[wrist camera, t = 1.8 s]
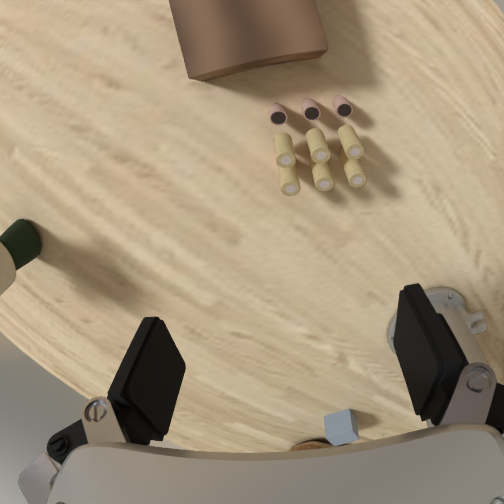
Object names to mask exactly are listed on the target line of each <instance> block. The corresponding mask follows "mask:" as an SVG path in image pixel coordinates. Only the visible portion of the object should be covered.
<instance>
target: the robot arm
mask: <svg viewBox="0 0 504 504" xmlns="http://www.w3.org/2000/svg"><path fill="white" fill-rule="evenodd" d="M483 318H484V314H483V311H482V310H479V311H476V312H474V313H472V314H469V313H467V312H466V305H465V302H464V300H463V298H462V297H461V295H460V294H459V293H458V292H457V291H456V290H454V289H451V288H447V287H438V288H433V289H429V290H426V291H424V290H423V289H422V287H421V286H420V284H418V283H417V284H411V285H406V286H404V289H403V290H401V291H400V293H399V302H398V310H397V313H396V314H395V315H394V317H393V318H392V320H391V322H390V324H389V327H388V330H387V340H388V344H389V346H390V349H391V350H392V351H393V352H394V353H395V354H396V355H397V357H398V360H399V363H400V366H401V369H402V372H403V375H404V378H405V381H406V384H407V388H408V391H409V394H410V397H411V401H412V404H413V407H414V411H415V414H416V415H420V417H421V420H422V421H425V420H426V422H427V426H428V428H426V429H422V430H417V431H413V432H409V433H405V434H401V435H396V436H392V437H387V438H382V439H377V440H372V441H367V442H362V443H356V444H350V445H344V446H337V447H329V448H321V449H311V450H300V451H287V452H265V453H228V452H205V451H191V450H179V449H170V448H162V447H153V446H150V445H149V444H150V440H155V441H163V437H164V435H167V433H168V430H169V426H170V423H171V419H172V415H173V412H174V408H175V405H176V401H177V397H178V394H179V390H180V387H181V383H182V380H183V376H184V373H185V369H186V366H185V362H184V360H183V358H182V356H181V354H180V352H179V350H178V349H177V347H176V345H175V343H174V341H173V339H172V337H171V335H170V333H169V331H168V329H167V327H166V325H165V323H164V321H163V320H160V318H159V317H145V318H144V319H143V320H142V322H141V324H140V326H139V328H138V330H137V332H136V334H135V336H134V338H133V340H132V342H131V344H130V346H129V348H128V350H127V352H126V354H125V356H124V358H123V361H122V363H121V365H120V367H119V369H118V371H117V373H116V375H115V378H114V380H113V382H112V384H111V386H110V388H109V391H108V396H107V398H105V397H101V396H100V397H94V398H92V399H90V400H89V401H88V402H87V403H86V404H85V405H84V407H83V408H82V412H81V418H82V419H80V420H79V421H77V422H75V423H73V424H72V425H70V426H68V427H66V428H65V429H63V430H61V431H59V432H58V433H56V434H55V435H53V436H52V437H51V438H50V439H49V442H48V444H47V452H45V451H43V452H42V453H41V454H40V455H39V456H38V457H37V458H36V459H35V460H34V461H33V462H32V463H31V464H30V465H29V466H27V468H25V469H24V470H23V471H22V472H21V474H20V476H19V479H18V484H19V487H20V489H21V491H22V493H23V495H24V496H25V498H26V500H27V502H28V503H29V504H504V385H502V384H499V383H498V381H497V379H496V375H495V373H494V371H493V369H492V368H491V367H490V365H489V363H488V361H487V359H486V358H485V356H484V354H483V352H482V350H481V348H480V347H479V345H478V343H477V341H476V340H475V338H474V336H473V335H476V334H479V333H482V332H484V331H486V329H487V324H486V321H485V320H484V319H483ZM472 322H473V323H472Z"/></svg>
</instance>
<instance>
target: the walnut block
mask: <svg viewBox="0 0 504 504" xmlns="http://www.w3.org/2000/svg"><path fill="white" fill-rule="evenodd" d="M169 3H170V7H171V11H172V15H173V19H174V23H175V27H176V31H177V35H178V39H179V43H180V46H181V50H182V54H183V58H184V62H185V66H186V70H187V73H188V77H189V79H194V80H198V81H202V82H204V81H207V80H210V79H214V78H218V77H221V76H225V75H229V74H233V73H237V72H241V71H246V70H250V69H255V68H259V67H264V66H269V65H275V64H280V63H286V62H292V61H299V60H306V59H313V58H320V57H321V56H322V55H323V54H324V53H325V52H326V51H327V50H328V47H327V43H326V39H325V36H324V32H323V28H322V25H321V22H320V18H319V15H318V12H317V8H316V5H315V2H314V0H169Z"/></svg>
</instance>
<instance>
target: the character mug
mask: <svg viewBox="0 0 504 504" xmlns="http://www.w3.org/2000/svg"><path fill="white" fill-rule="evenodd" d="M40 250H41V244H40V240H39V237H38V236H37V234H36V232H35V230H34V229H33V228H32V227H31V225H30V224H29V223H28V222H26V221H25V220H24V219H19V220H17V221H16V222H15V223H13V224H12V225H11V226H10V227H9V228H8V229H7V230H6V231H5V232H4V233H3V234H2V235H1V236H0V296H1V295H2V294H3V293H4V292H5V291H6V290H7V289H8V288H9V287H10V286H11V285H12V284H13V282H14V281H15V278H16V270H18V269H20V268H21V267H23V266H24V265H26V264H27V263H29V262H30V261H32V260H33V259H35V258H36V257H37V256H38V255H39V254H40Z"/></svg>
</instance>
